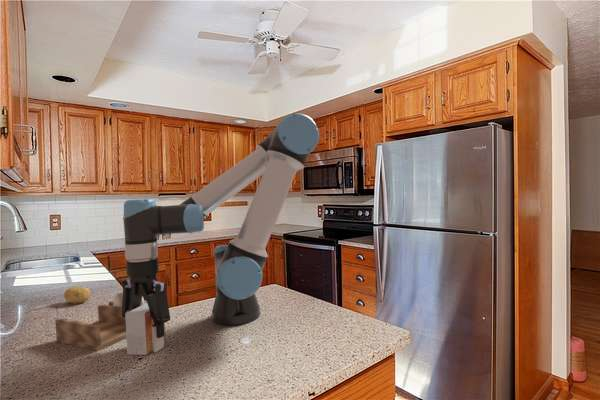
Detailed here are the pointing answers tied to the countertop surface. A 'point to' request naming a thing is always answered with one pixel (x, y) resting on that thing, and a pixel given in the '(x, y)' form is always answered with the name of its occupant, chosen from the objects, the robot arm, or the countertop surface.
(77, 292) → the potato
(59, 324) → the rack
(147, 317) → the small box
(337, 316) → the countertop surface
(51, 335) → the countertop surface
